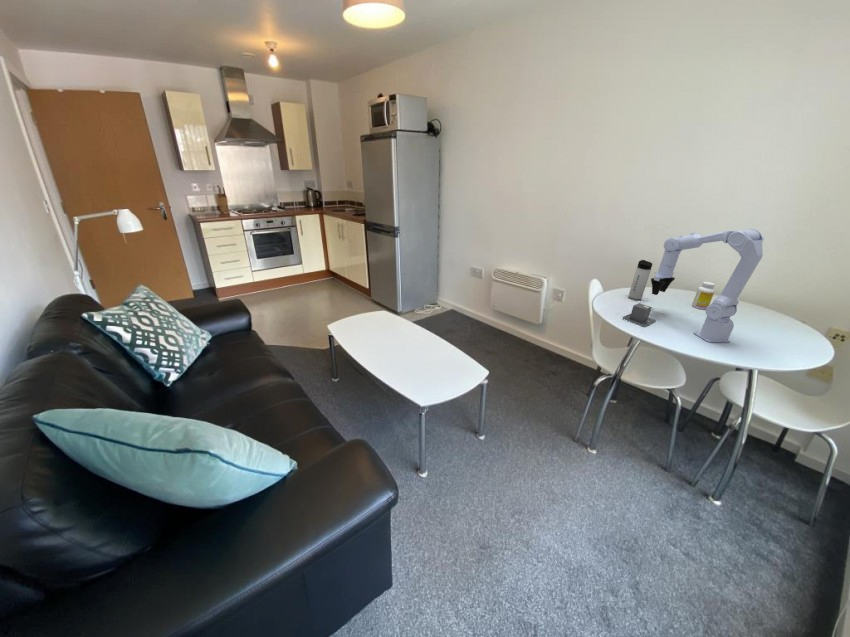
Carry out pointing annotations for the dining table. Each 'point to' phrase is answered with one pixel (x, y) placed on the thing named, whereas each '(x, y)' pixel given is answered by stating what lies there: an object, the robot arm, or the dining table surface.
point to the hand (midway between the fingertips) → (658, 292)
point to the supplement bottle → (703, 295)
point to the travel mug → (640, 280)
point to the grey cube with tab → (640, 312)
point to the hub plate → (643, 324)
